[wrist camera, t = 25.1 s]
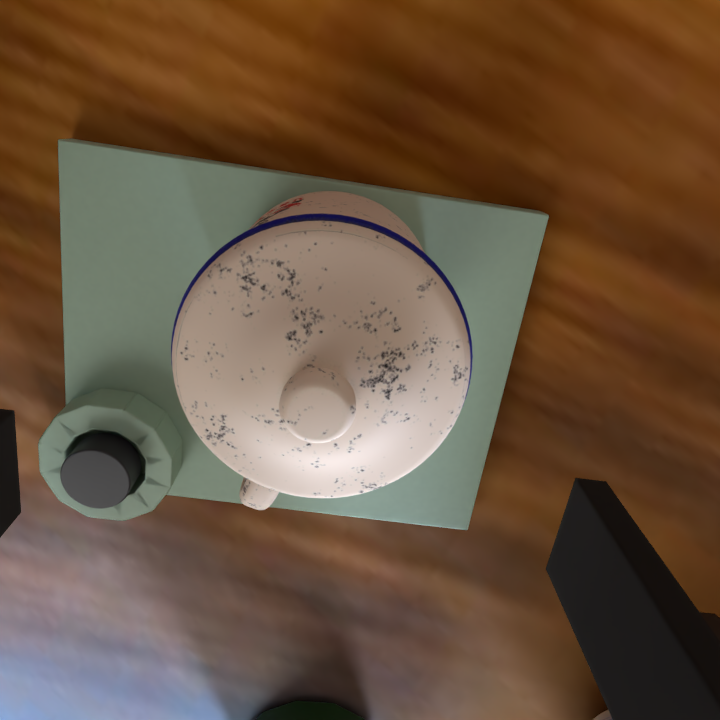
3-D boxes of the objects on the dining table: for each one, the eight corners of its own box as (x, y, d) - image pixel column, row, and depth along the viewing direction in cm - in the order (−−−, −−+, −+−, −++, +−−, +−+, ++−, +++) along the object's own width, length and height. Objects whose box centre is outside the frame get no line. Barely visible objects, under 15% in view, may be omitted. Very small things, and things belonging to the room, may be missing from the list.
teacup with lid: (269, 145, 24) (203, 166, 13) (473, 238, 26) (563, 326, 15) (177, 397, 28) (67, 573, 17) (357, 465, 29) (361, 667, 19)
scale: (68, 477, 31) (40, 512, 28) (58, 136, 25) (22, 138, 22) (462, 523, 32) (472, 562, 29) (541, 210, 26) (563, 221, 24)
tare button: (75, 485, 28) (60, 505, 27) (74, 428, 27) (58, 445, 26) (141, 493, 28) (130, 513, 27) (142, 436, 27) (130, 454, 26)
